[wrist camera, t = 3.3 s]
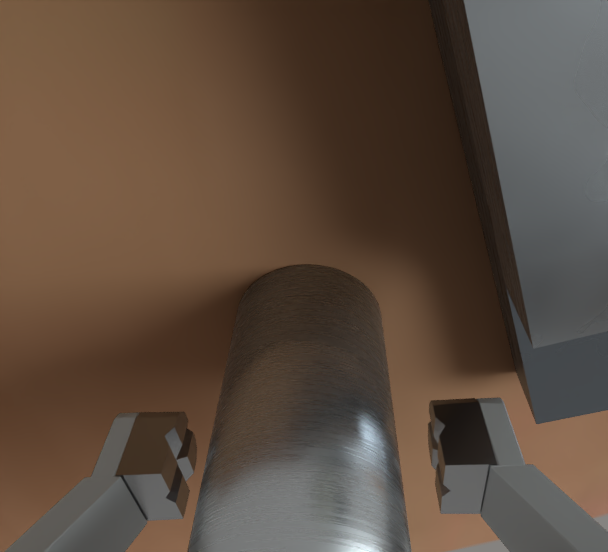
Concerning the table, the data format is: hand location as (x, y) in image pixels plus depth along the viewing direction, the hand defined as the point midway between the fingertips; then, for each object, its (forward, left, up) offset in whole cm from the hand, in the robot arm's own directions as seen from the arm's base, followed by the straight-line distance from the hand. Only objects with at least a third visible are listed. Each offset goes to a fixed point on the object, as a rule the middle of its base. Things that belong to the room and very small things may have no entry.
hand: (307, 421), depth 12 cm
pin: (0, 0, -3) cm, 3 cm away
